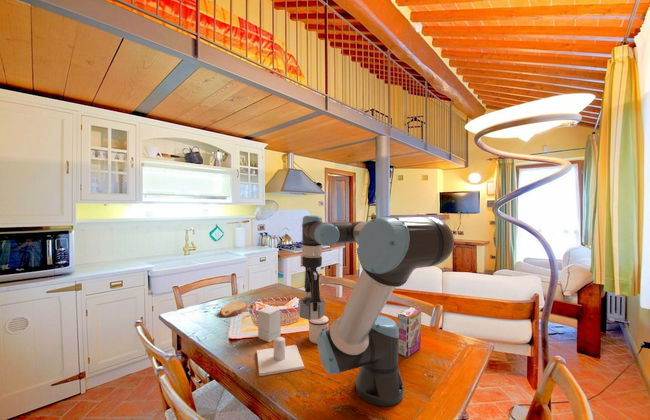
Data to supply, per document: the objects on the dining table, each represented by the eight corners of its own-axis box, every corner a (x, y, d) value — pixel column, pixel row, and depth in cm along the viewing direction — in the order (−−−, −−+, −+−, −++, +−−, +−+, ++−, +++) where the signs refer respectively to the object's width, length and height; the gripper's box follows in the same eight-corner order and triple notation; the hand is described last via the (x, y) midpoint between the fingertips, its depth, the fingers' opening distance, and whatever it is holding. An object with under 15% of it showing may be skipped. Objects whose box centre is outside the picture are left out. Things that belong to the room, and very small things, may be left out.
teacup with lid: (322, 346, 116) (322, 319, 116) (304, 340, 121) (304, 314, 121) (335, 334, 127) (335, 309, 126) (318, 330, 131) (318, 306, 131)
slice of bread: (242, 302, 169) (242, 296, 169) (255, 311, 155) (255, 305, 155) (212, 309, 158) (212, 303, 158) (222, 319, 144) (222, 312, 144)
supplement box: (281, 336, 125) (281, 308, 125) (268, 342, 119) (268, 313, 119) (269, 331, 129) (269, 305, 129) (257, 338, 123) (257, 310, 123)
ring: (326, 318, 103) (326, 304, 102) (301, 320, 100) (301, 307, 100) (320, 308, 112) (320, 296, 112) (297, 310, 109) (297, 297, 109)
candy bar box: (408, 358, 107) (408, 317, 107) (396, 354, 111) (397, 313, 110) (421, 348, 115) (421, 309, 115) (410, 344, 118) (410, 306, 118)
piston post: (304, 368, 100) (304, 347, 100) (259, 376, 96) (259, 353, 96) (296, 347, 116) (296, 328, 115) (257, 352, 111) (257, 333, 111)
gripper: (329, 261, 96) (328, 325, 96) (315, 250, 117) (314, 302, 118) (307, 262, 94) (307, 327, 94) (297, 251, 115) (297, 303, 116)
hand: (311, 313), depth 106 cm, fingers closed on ring, 10 cm apart
